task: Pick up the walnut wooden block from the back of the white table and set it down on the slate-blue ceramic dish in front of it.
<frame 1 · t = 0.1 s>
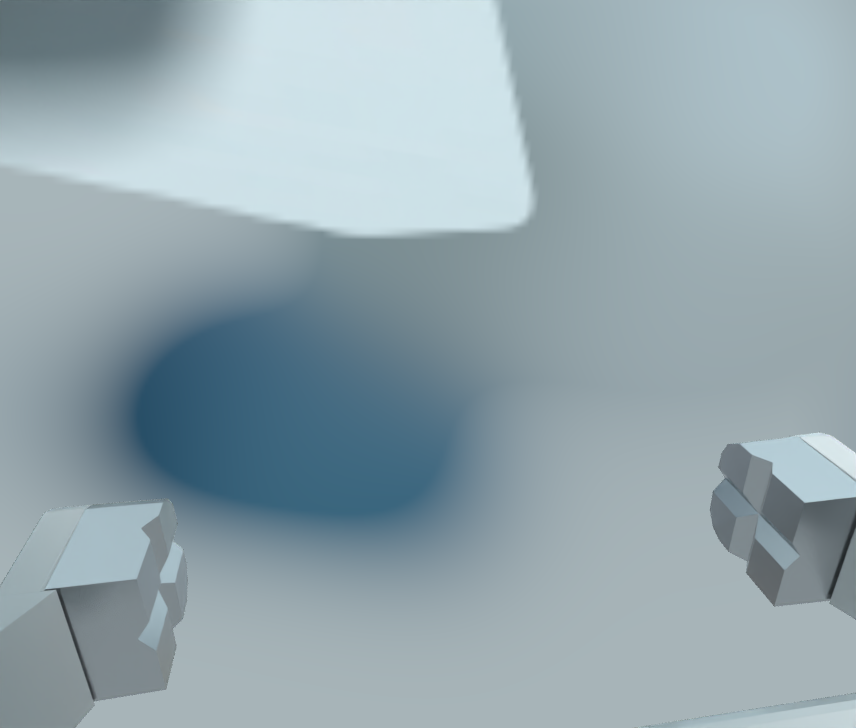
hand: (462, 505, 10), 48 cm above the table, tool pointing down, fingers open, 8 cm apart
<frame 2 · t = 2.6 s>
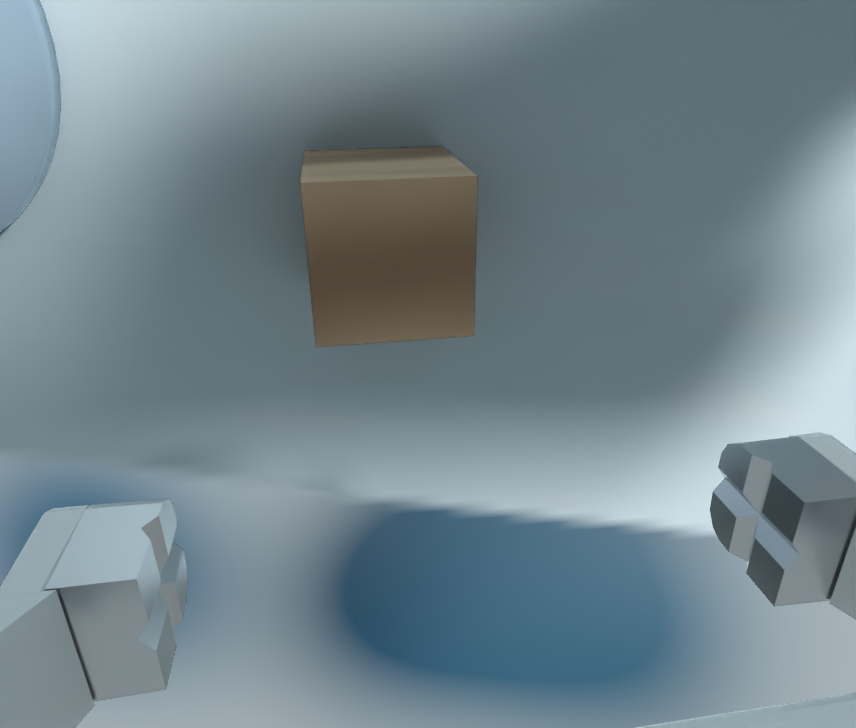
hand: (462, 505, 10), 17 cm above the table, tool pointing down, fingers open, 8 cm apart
walnut block: (377, 216, 25), on the table
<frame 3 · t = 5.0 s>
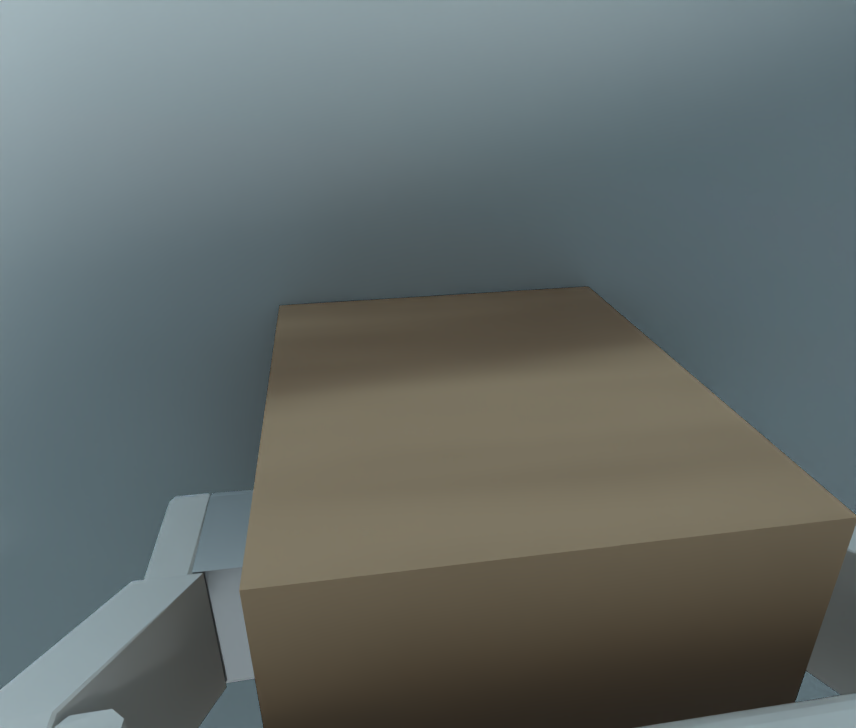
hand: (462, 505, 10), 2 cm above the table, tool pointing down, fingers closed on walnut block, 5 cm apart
walnut block: (439, 430, 12), on the table, touching gripper
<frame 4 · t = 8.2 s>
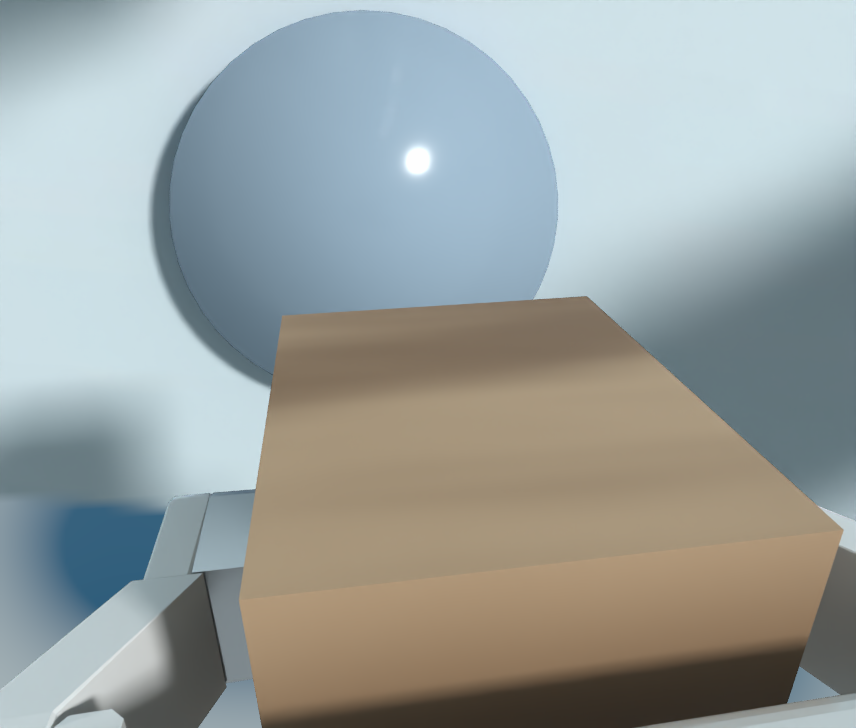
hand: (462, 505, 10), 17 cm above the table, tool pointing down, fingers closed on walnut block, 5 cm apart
dish: (370, 220, 25), on the table
walnut block: (439, 437, 12), point 15 cm above the table, touching gripper
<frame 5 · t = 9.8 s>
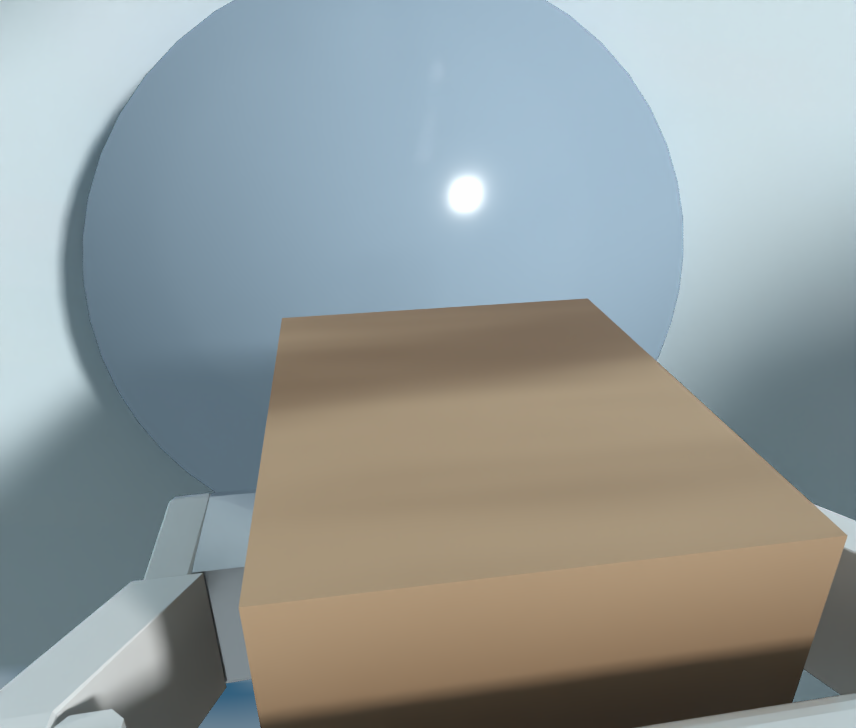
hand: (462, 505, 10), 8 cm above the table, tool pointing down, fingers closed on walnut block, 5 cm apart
dish: (397, 287, 17), on the table
walnut block: (440, 439, 12), point 6 cm above the table, touching gripper
when the fingers open (5 cm above the table, at t = 11.3 s): walnut block drops 1 cm, resting on dish.
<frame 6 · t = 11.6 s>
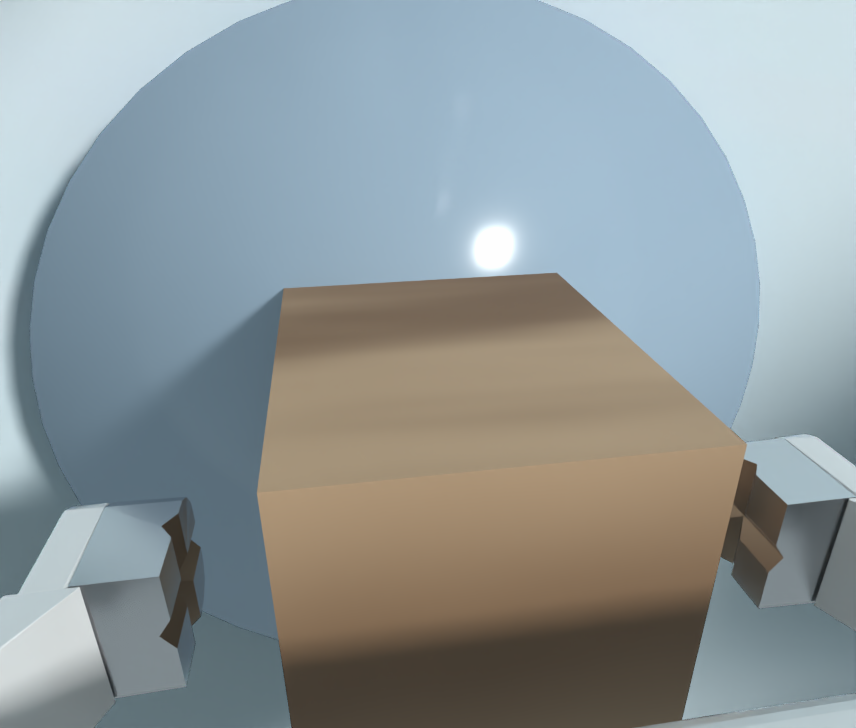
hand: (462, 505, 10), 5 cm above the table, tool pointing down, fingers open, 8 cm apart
dish: (415, 366, 14), on the table
walnut block: (425, 401, 13), point 1 cm above the table, touching dish
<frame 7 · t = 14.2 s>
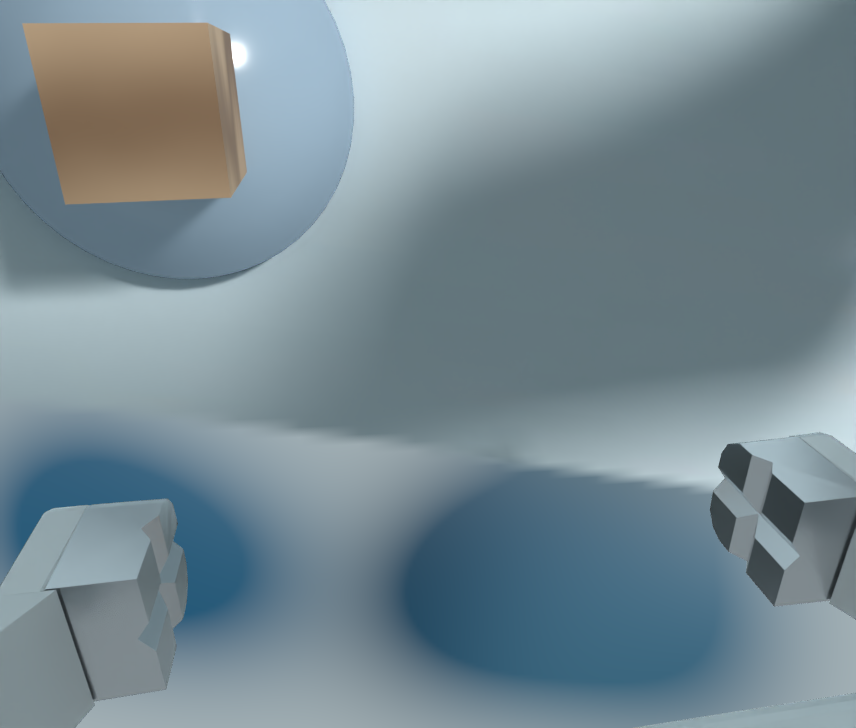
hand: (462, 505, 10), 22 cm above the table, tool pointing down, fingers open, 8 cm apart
dish: (175, 100, 26), on the table
walnut block: (171, 107, 25), point 1 cm above the table, touching dish
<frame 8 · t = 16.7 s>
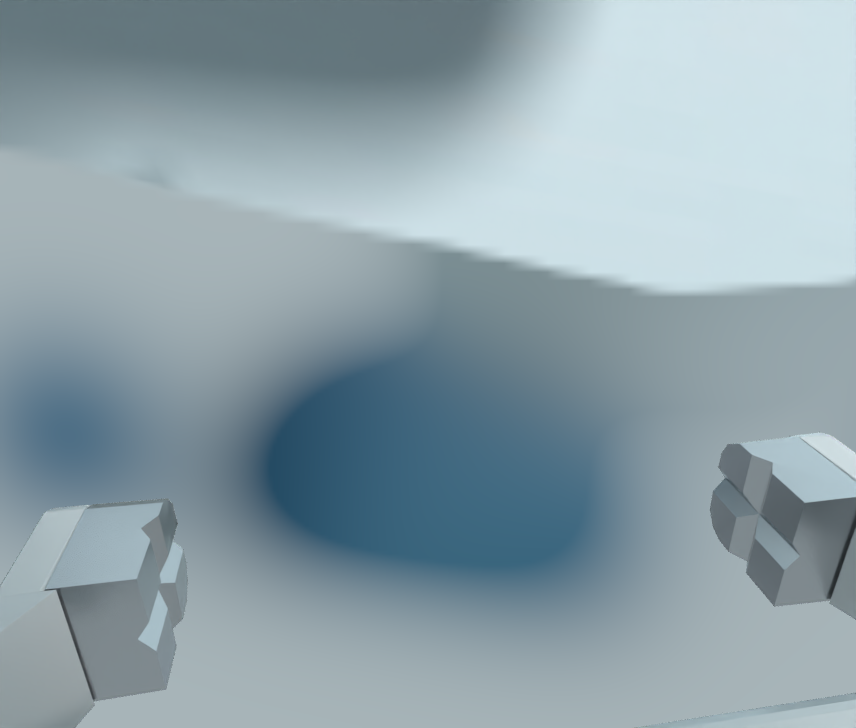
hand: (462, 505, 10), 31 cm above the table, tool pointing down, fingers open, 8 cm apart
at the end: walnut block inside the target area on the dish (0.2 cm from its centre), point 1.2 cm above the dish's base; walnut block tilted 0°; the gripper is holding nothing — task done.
